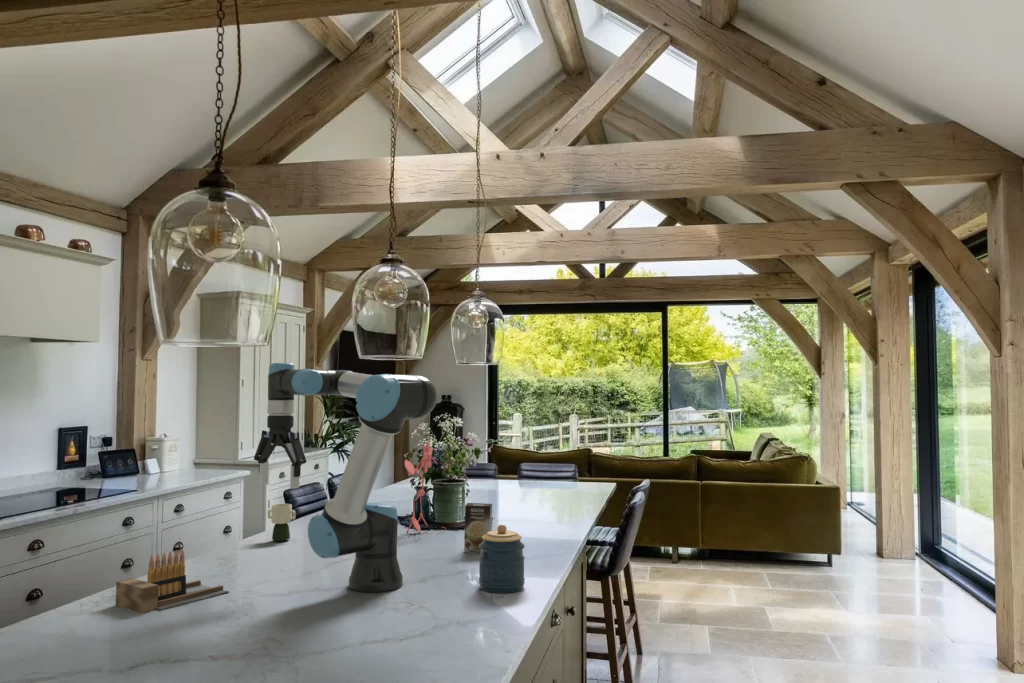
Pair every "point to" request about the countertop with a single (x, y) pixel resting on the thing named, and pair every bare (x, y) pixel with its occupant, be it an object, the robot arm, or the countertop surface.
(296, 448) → the robot arm
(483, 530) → the coffee box
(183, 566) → the ammunition clip
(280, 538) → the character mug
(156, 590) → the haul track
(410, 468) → the figurine
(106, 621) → the countertop surface
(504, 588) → the canister
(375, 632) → the countertop surface
